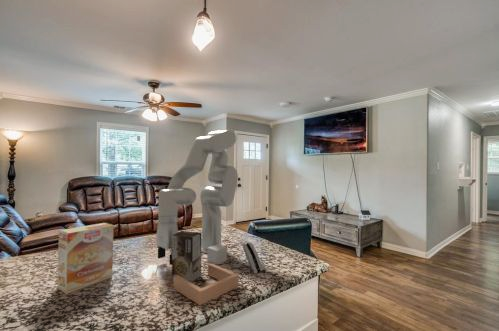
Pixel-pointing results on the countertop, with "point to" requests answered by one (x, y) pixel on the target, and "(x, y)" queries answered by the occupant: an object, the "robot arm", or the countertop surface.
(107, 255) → the coffeecake box
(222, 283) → the bracket
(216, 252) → the light grey cube
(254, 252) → the grey game console
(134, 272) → the countertop surface
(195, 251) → the coffee box
